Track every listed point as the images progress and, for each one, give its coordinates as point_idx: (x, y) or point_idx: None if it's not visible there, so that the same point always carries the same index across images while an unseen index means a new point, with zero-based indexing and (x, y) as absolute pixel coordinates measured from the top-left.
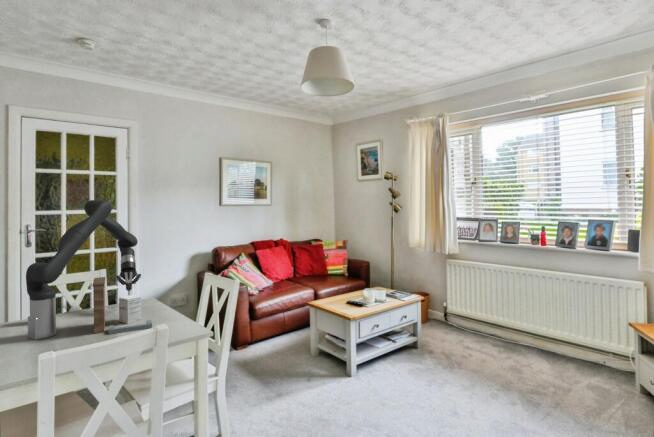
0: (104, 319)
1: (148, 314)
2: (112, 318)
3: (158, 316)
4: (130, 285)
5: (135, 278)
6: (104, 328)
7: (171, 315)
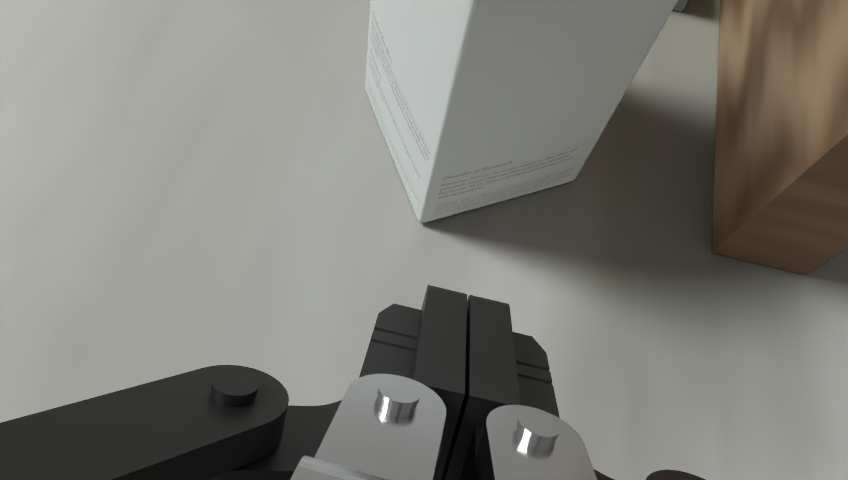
0: (766, 13)
1: (203, 239)
2: (626, 375)
3: (154, 83)
4: (409, 361)
5: (110, 457)
6: (721, 50)
7: (24, 23)
